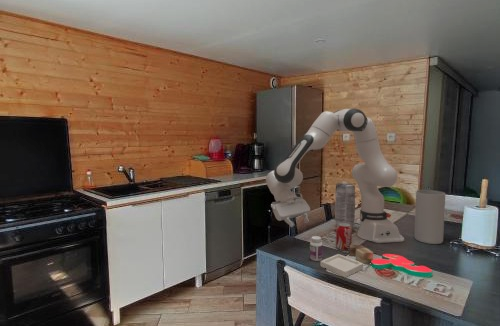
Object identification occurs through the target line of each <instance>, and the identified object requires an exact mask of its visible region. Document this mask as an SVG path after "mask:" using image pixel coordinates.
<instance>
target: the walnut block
mask: <svg viewBox="0 0 500 326" xmlns="http://www.w3.org/2000/svg"><path fill="white" fill-rule="evenodd" d="M360 248H365V246H364V245H359V244H350V249H349V256H350V257H356V249H360Z"/></svg>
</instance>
